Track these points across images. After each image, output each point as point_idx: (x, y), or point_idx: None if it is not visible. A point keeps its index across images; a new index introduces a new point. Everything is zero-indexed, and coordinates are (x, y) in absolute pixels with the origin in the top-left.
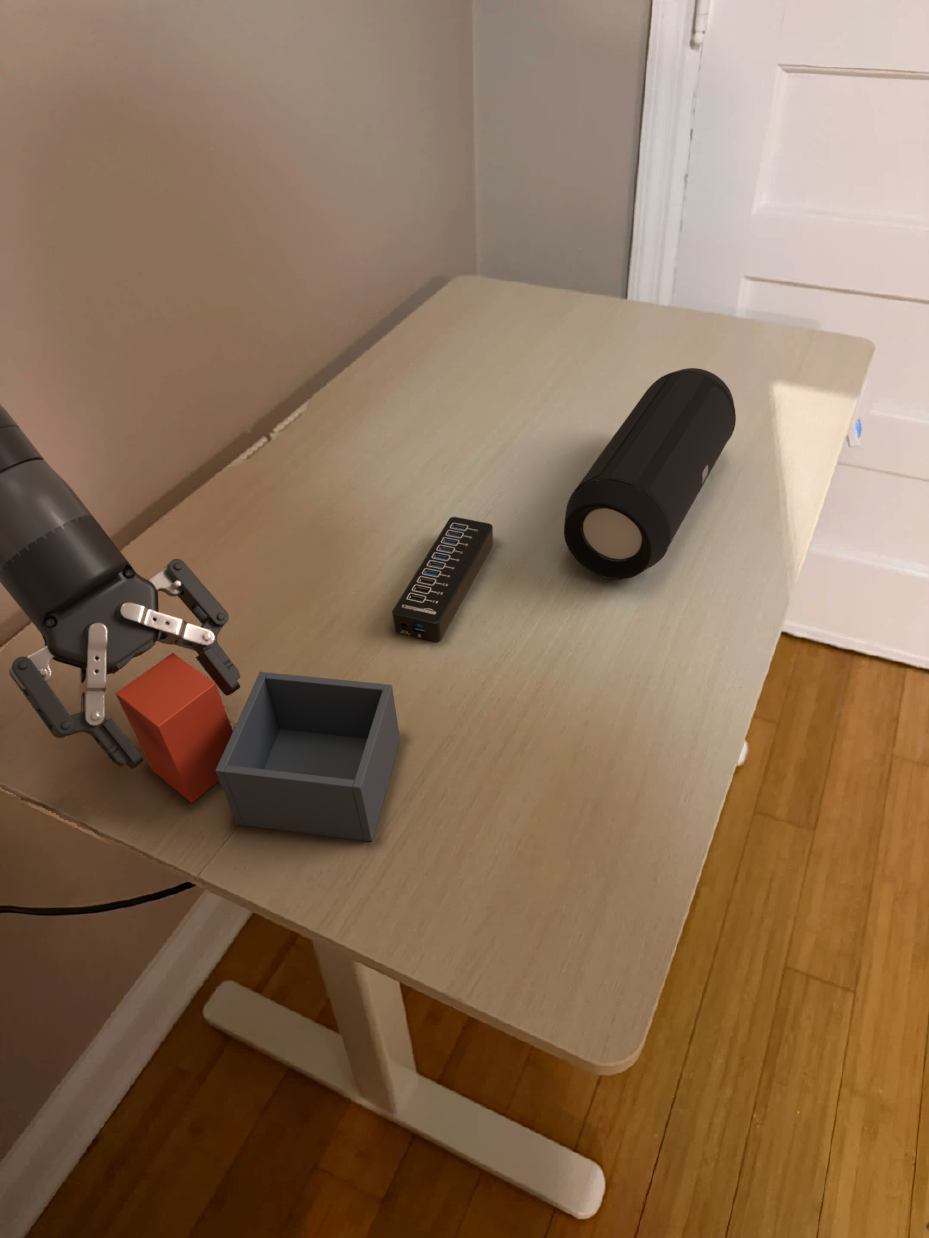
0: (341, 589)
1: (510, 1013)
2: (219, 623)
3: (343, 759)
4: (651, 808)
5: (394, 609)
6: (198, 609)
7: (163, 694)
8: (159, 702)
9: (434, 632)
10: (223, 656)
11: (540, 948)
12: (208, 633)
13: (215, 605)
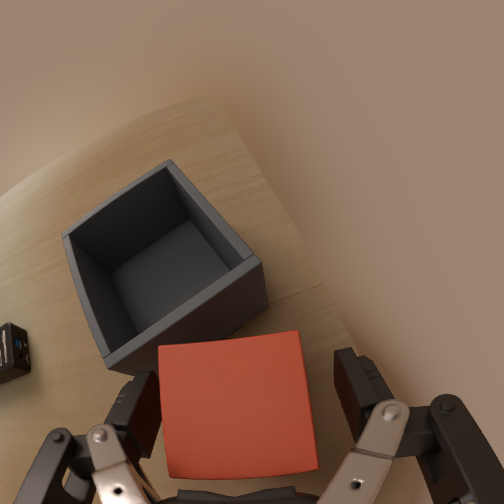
0: (27, 448)
1: (225, 114)
2: (68, 433)
3: (146, 288)
4: (92, 152)
5: (10, 365)
6: (78, 494)
7: (245, 397)
8: (263, 384)
9: (18, 328)
10: (115, 410)
11: (188, 125)
12: (92, 435)
13: (45, 453)
